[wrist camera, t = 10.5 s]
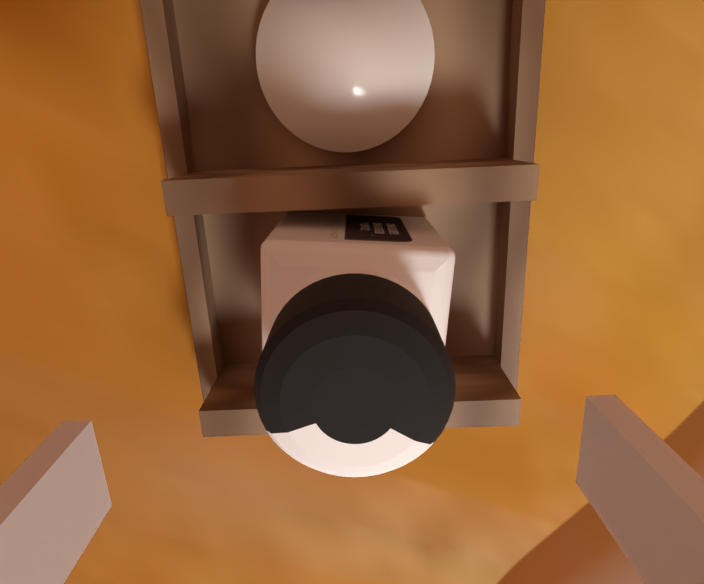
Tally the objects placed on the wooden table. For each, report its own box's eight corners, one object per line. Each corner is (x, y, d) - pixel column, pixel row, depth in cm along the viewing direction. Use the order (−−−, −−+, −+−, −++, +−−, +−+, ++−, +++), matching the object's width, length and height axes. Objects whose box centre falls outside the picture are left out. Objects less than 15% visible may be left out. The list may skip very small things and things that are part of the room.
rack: (214, 380, 30) (183, 437, 25) (147, -77, 23) (79, -145, 17) (503, 368, 30) (539, 424, 24) (533, -96, 23) (594, -172, 17)
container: (284, 209, 26) (224, 282, 14) (428, 216, 26) (497, 293, 14) (284, 341, 28) (233, 503, 16) (416, 347, 29) (465, 512, 16)
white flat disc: (267, 154, 25) (263, 155, 24) (251, -35, 23) (247, -42, 22) (429, 149, 25) (432, 149, 24) (433, -41, 22) (437, -49, 21)
